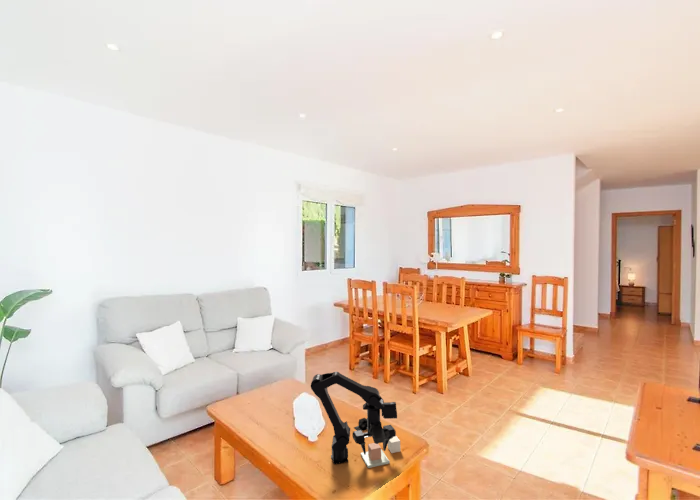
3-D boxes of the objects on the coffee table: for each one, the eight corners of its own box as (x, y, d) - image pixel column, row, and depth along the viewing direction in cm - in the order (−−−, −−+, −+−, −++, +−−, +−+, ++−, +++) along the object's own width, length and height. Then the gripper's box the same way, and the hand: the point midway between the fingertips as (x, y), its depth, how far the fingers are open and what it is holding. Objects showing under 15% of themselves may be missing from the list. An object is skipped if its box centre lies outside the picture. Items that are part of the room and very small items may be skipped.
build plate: (367, 468, 157) (367, 465, 157) (360, 454, 166) (360, 452, 166) (389, 463, 160) (389, 461, 160) (381, 450, 169) (381, 448, 169)
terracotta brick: (371, 460, 160) (371, 449, 160) (368, 455, 165) (368, 444, 164) (381, 458, 162) (380, 447, 161) (377, 453, 166) (377, 442, 166)
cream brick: (391, 453, 167) (391, 442, 167) (387, 448, 172) (387, 437, 171) (400, 451, 168) (400, 440, 168) (396, 446, 173) (396, 435, 173)
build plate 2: (357, 435, 185) (357, 426, 184) (349, 429, 191) (349, 420, 190) (377, 427, 191) (376, 418, 191) (368, 421, 197) (368, 413, 197)
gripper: (359, 430, 152) (360, 467, 153) (400, 423, 157) (401, 458, 158) (351, 418, 163) (352, 452, 163) (390, 411, 168) (391, 444, 169)
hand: (374, 452), depth 163 cm, fingers open, 9 cm apart
